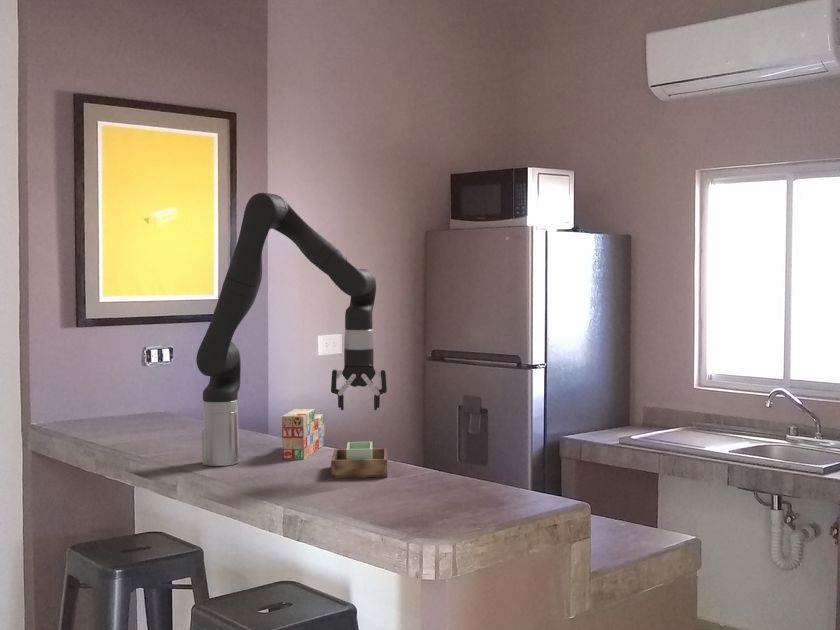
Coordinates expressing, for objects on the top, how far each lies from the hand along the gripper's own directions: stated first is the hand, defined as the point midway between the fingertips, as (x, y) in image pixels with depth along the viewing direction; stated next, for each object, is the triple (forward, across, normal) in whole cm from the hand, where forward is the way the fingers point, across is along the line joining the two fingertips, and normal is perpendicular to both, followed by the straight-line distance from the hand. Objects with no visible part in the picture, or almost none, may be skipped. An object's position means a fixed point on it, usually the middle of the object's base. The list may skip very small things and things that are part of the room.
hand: (359, 409), depth 244 cm
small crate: (+15, 0, 0) cm, 15 cm away
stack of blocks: (+17, -17, +28) cm, 36 cm away
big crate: (+16, 0, 0) cm, 16 cm away
